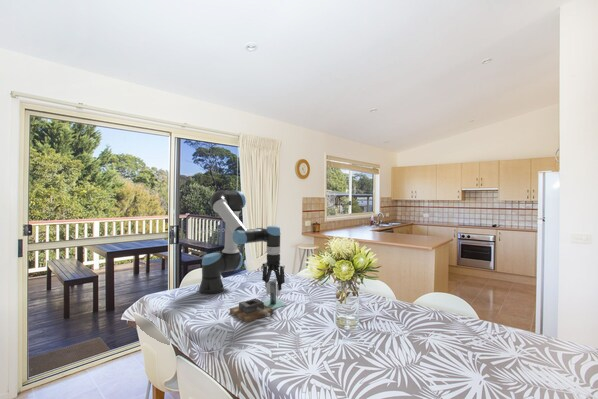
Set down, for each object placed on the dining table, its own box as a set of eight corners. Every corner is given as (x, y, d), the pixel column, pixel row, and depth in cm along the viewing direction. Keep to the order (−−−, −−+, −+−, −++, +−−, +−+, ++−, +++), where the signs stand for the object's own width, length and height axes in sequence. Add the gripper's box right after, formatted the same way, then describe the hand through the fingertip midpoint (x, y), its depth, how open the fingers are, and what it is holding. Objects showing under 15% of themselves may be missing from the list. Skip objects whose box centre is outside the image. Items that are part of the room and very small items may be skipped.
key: (273, 301, 170) (273, 278, 170) (278, 302, 168) (278, 279, 168) (267, 304, 165) (267, 281, 165) (272, 305, 163) (272, 281, 163)
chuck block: (230, 312, 155) (230, 301, 155) (256, 305, 165) (256, 295, 165) (254, 327, 136) (254, 316, 136) (282, 318, 147) (282, 307, 147)
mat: (259, 303, 168) (259, 302, 168) (274, 299, 174) (274, 298, 174) (272, 309, 159) (272, 308, 159) (286, 305, 165) (286, 304, 165)
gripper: (255, 253, 168) (255, 293, 168) (284, 256, 158) (284, 299, 158) (263, 251, 174) (263, 290, 174) (291, 254, 165) (291, 295, 165)
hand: (273, 294), depth 166 cm, fingers open, 6 cm apart
